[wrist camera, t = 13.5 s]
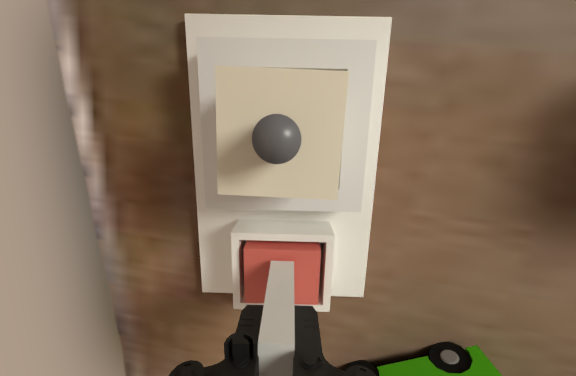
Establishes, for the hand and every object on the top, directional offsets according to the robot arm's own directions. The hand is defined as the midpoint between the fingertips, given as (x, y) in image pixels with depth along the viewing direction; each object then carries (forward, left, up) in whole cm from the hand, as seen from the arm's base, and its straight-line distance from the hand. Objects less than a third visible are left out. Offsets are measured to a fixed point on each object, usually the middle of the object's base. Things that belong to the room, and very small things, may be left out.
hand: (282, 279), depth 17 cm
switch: (0, 0, -2) cm, 2 cm away
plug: (-9, 0, -3) cm, 10 cm away
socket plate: (-6, 0, -4) cm, 8 cm away
